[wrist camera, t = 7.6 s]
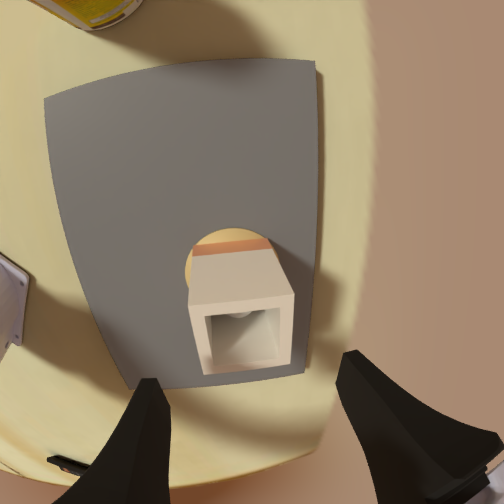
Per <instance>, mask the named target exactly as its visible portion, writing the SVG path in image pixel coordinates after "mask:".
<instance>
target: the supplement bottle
mask: <svg viewBox="0 0 504 504" xmlns="http://www.w3.org/2000/svg"><path fill="white" fill-rule="evenodd" d="M28 1H30V2H32V3H33V4H35V5H37V6H39V7H41V8H43V9H44V10H46V11H48V12H50V13H51V14H53V15H55V16H57V17H58V18H60V19H62V20H64V21H65V22H67V23H69V24H71V25H72V26H74V27H76V28H78V29H81V30H91V31H92V30H99V29H104V28H107V27H109V26H112V25H114V24H116V23H118V22H120V21H122V20H123V19H125V18H126V17H128V16H129V15H130V14H131V13H133V12H134V11H135V10H136V9H137V8H138V6H139V5H140V4H141V3H142V1H143V0H28Z"/></svg>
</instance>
